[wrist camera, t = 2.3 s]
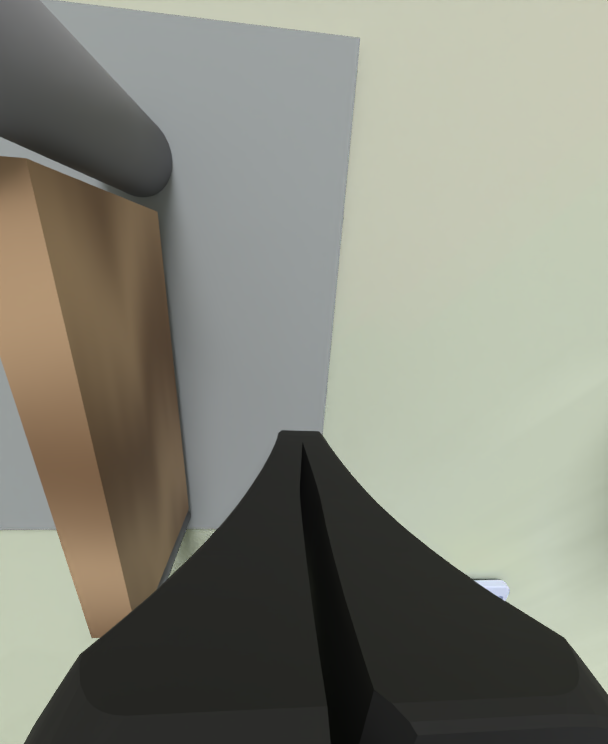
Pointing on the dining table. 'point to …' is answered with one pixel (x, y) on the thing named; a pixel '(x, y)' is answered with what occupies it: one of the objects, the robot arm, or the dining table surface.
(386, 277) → the dining table surface
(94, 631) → the board
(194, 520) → the gate frame
